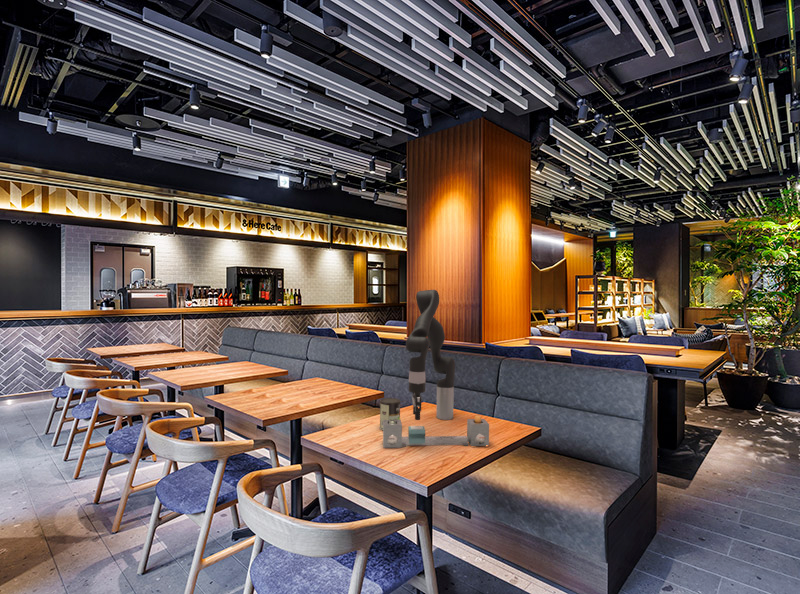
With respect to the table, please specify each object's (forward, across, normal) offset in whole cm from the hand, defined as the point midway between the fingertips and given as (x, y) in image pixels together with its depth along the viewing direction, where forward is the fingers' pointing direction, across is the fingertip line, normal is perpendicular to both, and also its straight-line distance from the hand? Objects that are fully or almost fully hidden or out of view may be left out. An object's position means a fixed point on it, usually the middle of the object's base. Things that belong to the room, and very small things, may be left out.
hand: (416, 417), depth 187 cm
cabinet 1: (+12, 0, -11) cm, 16 cm away
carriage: (+11, 0, 0) cm, 11 cm away
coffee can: (+12, -23, -11) cm, 28 cm away
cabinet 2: (+12, 0, +28) cm, 31 cm away
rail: (+12, 0, +8) cm, 15 cm away
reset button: (+4, 0, +28) cm, 28 cm away
